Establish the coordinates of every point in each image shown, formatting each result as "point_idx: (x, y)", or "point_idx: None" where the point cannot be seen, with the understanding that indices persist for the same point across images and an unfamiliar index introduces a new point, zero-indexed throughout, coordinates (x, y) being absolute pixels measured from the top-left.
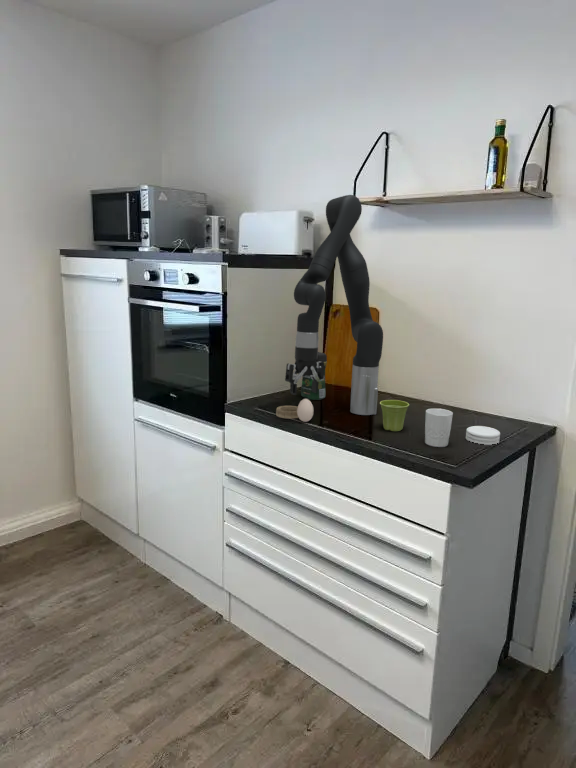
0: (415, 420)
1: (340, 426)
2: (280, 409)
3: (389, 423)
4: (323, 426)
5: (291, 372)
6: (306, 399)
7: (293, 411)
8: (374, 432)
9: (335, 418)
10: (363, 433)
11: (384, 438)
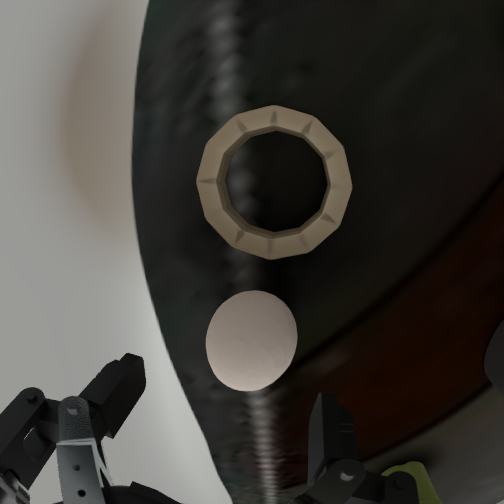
0: (492, 445)
1: None
2: (249, 133)
3: None
4: (273, 390)
5: (19, 476)
6: (236, 385)
7: (254, 239)
8: None
9: (399, 351)
10: None
11: None
